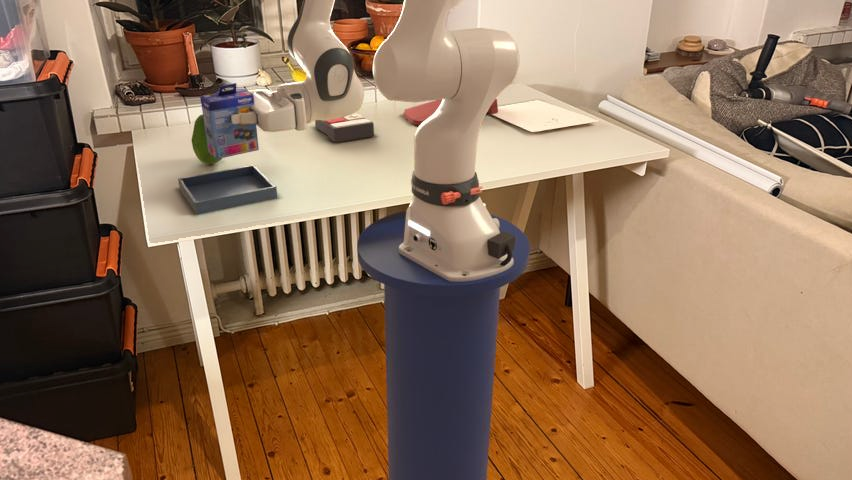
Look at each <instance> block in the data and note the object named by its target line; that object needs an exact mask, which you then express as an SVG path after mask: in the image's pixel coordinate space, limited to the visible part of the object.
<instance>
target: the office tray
mask: <svg viewBox="0 0 852 480" xmlns="http://www.w3.org/2000/svg"><path fill="white" fill-rule="evenodd" d="M177 182H178V188H179V191H180V192H181V194H182V195H183V197H184V198H185V200H186V201H187V203H188V204H189V206H190V207H191V208H192V210H193V211H194V213H195V214H196V215H200V214H205V213H210V212H216V211H220V210H225V209H230V208H235V207H239V206H245V205H248V204H254V203H259V202H263V201H268V200H273V199H278V190H277V186H276V185H275V184H274V183H273V182H272V181H271V180H270V179H269V178H268V177H267V176H266V175H265V174H264V173H263V172H262V171H261V170H260V169H259V168H258V167H257V166H256V165H255V164H250V165H246V166H240V167H234V168H230V169H223V170H219V171H218V170H217V171H212V172H207V173H202V174H195V175H191V176H184V177H180V178H179V177H178V178H177Z"/></svg>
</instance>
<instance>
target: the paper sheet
mask: <svg viewBox="0 0 852 480" xmlns="http://www.w3.org/2000/svg"><path fill="white" fill-rule="evenodd" d="M486 114H490V113H489V112H487V113H486ZM490 115H491V116H494V117H496V118H498V119H501V120H503V121H506V122H507V123H510V124H512V125H514V126H517V127H519V128H521V129H524V130H526V131H528V132H531V133H536V132H542V131H550V130H555V129H561V128H567V127H571V126H573V127H574V126H579V125H584V124H590V123H597V122H599V119H594V118H592V117H590V116H586V115H583V114H581V113H578V112H575V111H572V110H569V109H566V108H563V107H560V106H558V105H554V104H552V103H549V102H545V101H542V100H540V99H535V100H530V101H523V102H517V103H512V104H506V105H500V106H499V105H498V113H495V114H490Z"/></svg>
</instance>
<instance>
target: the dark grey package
mask: <svg viewBox="0 0 852 480" xmlns="http://www.w3.org/2000/svg"><path fill="white" fill-rule="evenodd" d="M314 124H315V125H314V127H315V128H316V129H317V130H319V131H320V132H322V133H323V134H325V135H326V136H328V137H329V140H330V141H333V142H334V143H340V142H347V141H353V140H358V139H359V140H360V139H366V138H371V137H375V127H374V122H373V121H371V120H370V119H369V118H366V117H365V116H363V115H361V114H359V113H357V112H355V113H353V114H351V115H348V116H345V117H342V118H337V119H332V120H326V121H323V120H316V121H314Z"/></svg>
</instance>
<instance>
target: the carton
mask: <svg viewBox="0 0 852 480" xmlns="http://www.w3.org/2000/svg"><path fill="white" fill-rule="evenodd" d="M442 100H443V99H441V100H433V101H427V102H426V103H422V104H418V105H415V106H412V107H408V108H405V109H404V110H403V118H404V119H406V120H407V121H408V122H410V123H411V124H412V125H413V126H418V127H419V126H420V125H421V123H422V122H424V121H425V120H426V119H428V118H429V117H431V116H432V115H433V114H434V113H435V112H436V111H437V109H438V108H439V106H440V105H441V103H442ZM498 107H499V105H498V99H497V98H496V99H495V100H494V102H493V103H492V105H491V106H490V108H489V110H488V111H487V112H489V113H490V115H492V114H495V113H498ZM489 113H488V114H489Z"/></svg>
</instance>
